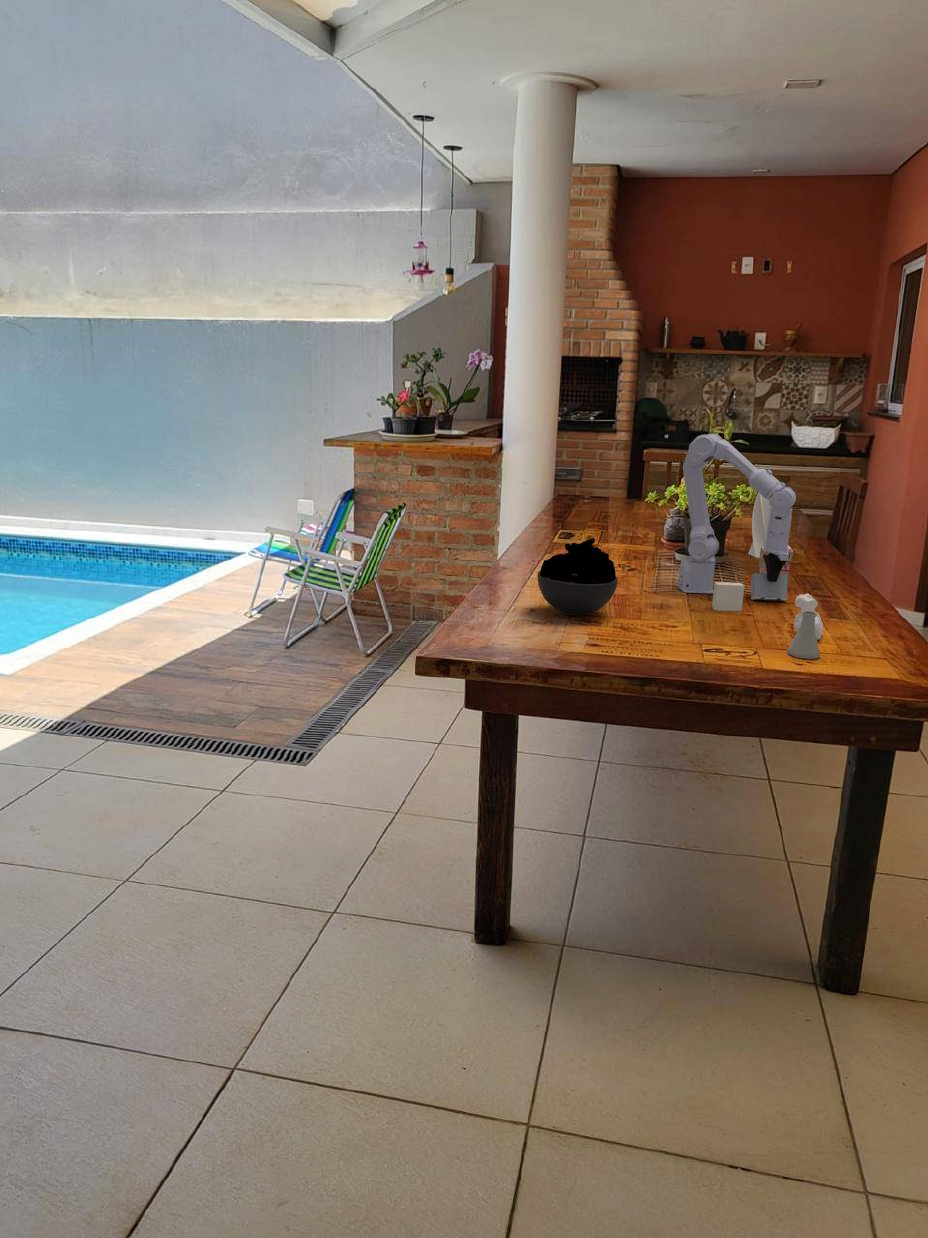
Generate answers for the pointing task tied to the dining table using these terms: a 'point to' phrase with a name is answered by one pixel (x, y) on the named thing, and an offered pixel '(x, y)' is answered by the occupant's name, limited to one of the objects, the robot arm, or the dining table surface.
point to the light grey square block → (728, 596)
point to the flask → (805, 638)
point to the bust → (808, 605)
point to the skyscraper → (759, 525)
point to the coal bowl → (578, 579)
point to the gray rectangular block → (768, 587)
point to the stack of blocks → (784, 570)
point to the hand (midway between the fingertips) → (771, 581)
